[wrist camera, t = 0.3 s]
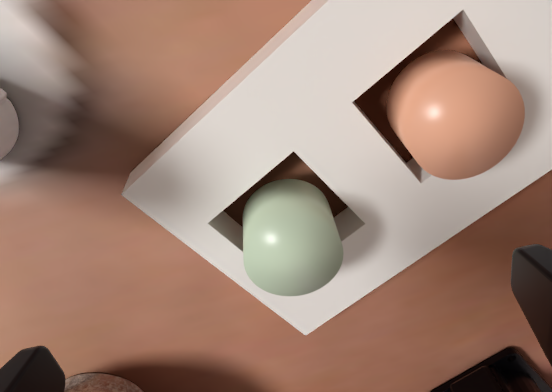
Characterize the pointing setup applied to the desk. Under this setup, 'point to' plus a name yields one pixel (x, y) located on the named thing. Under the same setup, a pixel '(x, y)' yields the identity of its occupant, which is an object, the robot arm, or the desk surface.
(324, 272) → the sage button
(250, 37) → the desk surface
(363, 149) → the button console
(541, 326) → the robot arm
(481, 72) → the terracotta button
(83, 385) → the pottery
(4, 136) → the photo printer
